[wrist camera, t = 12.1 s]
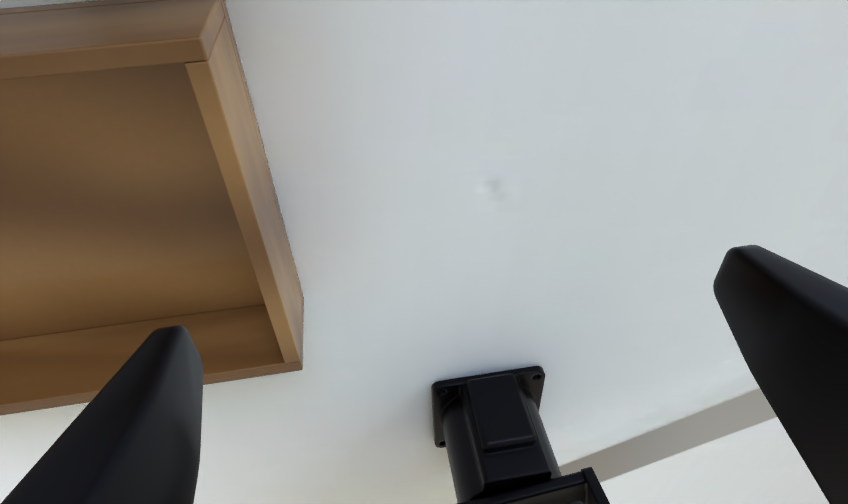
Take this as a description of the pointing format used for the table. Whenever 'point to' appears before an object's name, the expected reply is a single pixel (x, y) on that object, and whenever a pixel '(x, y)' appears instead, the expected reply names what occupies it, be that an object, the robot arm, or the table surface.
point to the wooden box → (134, 200)
